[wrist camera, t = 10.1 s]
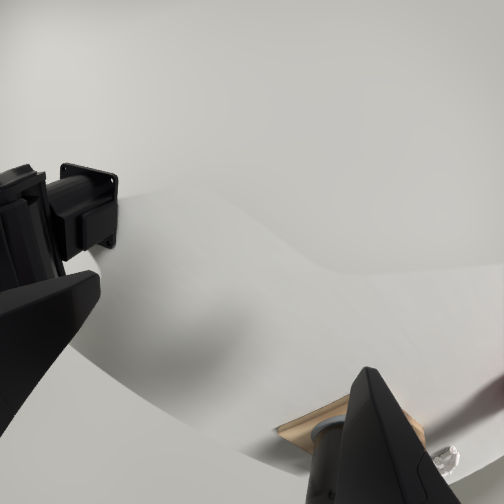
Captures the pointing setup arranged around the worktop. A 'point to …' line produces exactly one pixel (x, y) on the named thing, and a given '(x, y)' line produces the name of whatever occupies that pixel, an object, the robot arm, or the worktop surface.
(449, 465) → the clip
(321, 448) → the supplement bottle
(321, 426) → the holder
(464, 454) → the worktop surface
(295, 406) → the worktop surface
